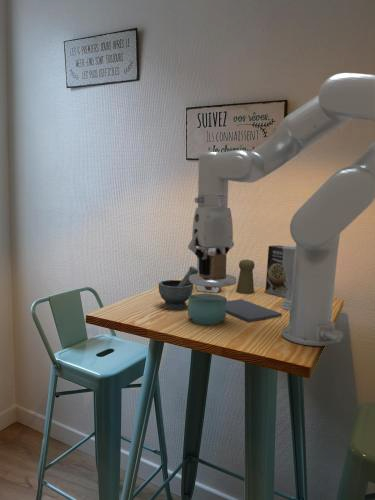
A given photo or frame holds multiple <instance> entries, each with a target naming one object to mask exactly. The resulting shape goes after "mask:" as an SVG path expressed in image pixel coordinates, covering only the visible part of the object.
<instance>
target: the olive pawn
mask: <svg viewBox="0 0 375 500" xmlns="http://www.w3.org/2000/svg"><path fill="white" fill-rule="evenodd" d="M238 268H239V269H240V271H239V275H238V280H237V285H236V293H238V294H242V295H253V294H255V288H254V287H255V285H254V271H253V270H254V269H255V262H254V261H253V260H252V259H241V260H239V263H238ZM252 293H253V294H252Z"/></svg>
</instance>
